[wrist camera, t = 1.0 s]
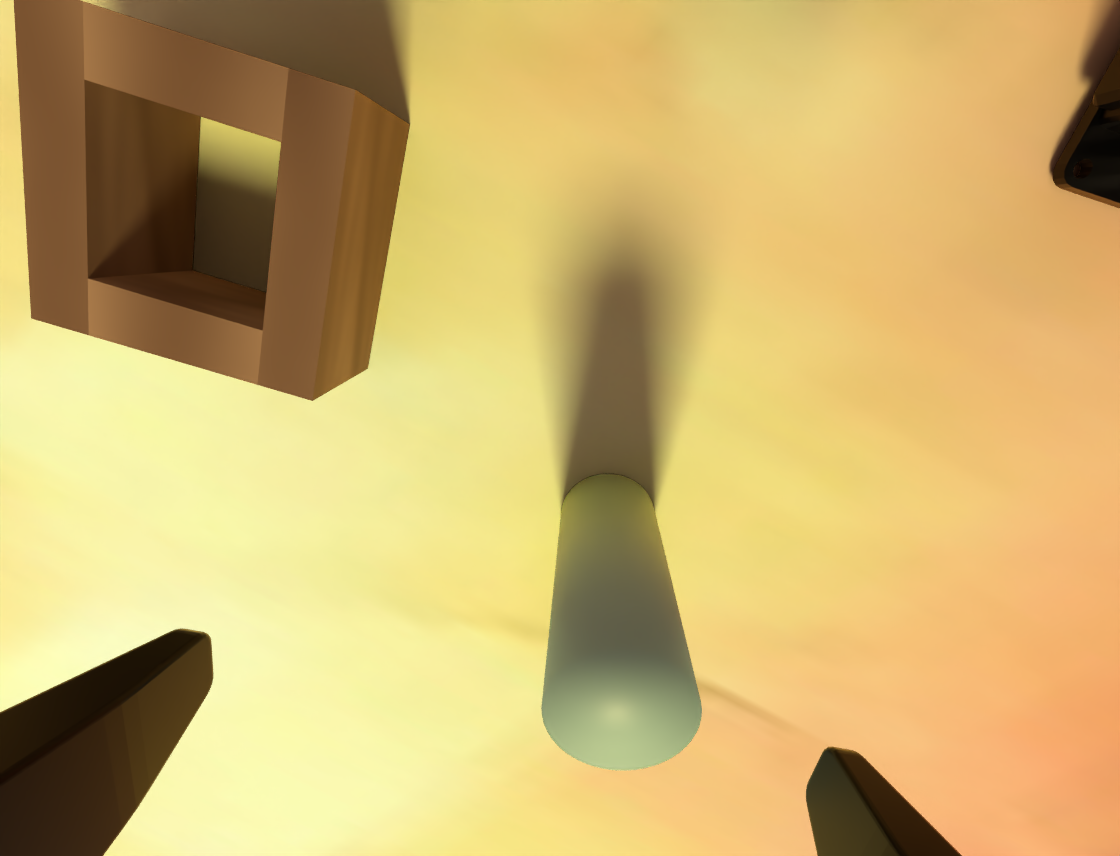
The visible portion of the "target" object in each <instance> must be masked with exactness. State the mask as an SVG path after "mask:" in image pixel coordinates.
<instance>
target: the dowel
mask: <svg viewBox="0 0 1120 856" xmlns="http://www.w3.org/2000/svg"><path fill="white" fill-rule="evenodd" d="M701 714H702V707H701V700H700V696H699V692H698V688H697V684H696V680H695V676H694V671H693V667H692V663H691V659H690V655H689V651H688V647H687V643H686V638H685V634H684V630H683V626H682V622H681V618H680V614H679V610H678V605H677V601H676V597H675V593H674V589H673V585H672V581H671V577H670V572H669V568H668V564H667V560H666V556H665V552H664V548H663V544H662V539H661V535H660V531H659V527H658V523H657V519H656V515H655V511H654V507H653V503H652V501H651V498H650V496H649V495H648V493H647V492H646V491H645V490H644V488H643V487H642V486H640V485H639V484H638V483H637V482H635V481H633V480H632V479H630V478H627V477H624V476H621V475H617V474H599V475H595V476H591V477H589V478H586V479H584V480H582V481H581V482H579V483H578V484H576V485H575V486H574V487H573V488H572V489H571V490H570V492H569V493H568V494H567V496H566V498H565V500H564V502H563V505H562V510H561V520H560V529H559V539H558V549H557V559H556V569H555V579H554V589H553V599H552V609H551V619H550V629H549V639H548V649H547V659H546V669H545V678H544V688H543V698H542V717H543V722H544V725H545V727H546V730H547V732H548V733H549V735H550V737H551V738H552V739H553V741H554V742H555V743H556V744H557V745H558V746H559V747H560V748H561V749H562V750H563V751H565V752H566V753H567V754H569V755H570V756H572V757H573V758H575V759H577V760H579V761H581V762H583V763H586V764H588V765H592V766H595V767H599V768H603V769H609V770H637V769H643V768H647V767H651V766H655V765H657V764H660V763H662V762H665V761H667V760H669V759H670V758H672V757H674V756H675V755H677V754H678V753H680V752H681V751H682V750H683V749H684V748H685V747H686V746H687V745H688V744H689V743H690V742H691V740H692V739H693V737H694V736H695V734H696V732H697V730H698V728H699V725H700V721H701Z"/></svg>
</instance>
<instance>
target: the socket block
mask: <svg viewBox="0 0 1120 856" xmlns="http://www.w3.org/2000/svg"><path fill="white" fill-rule="evenodd" d="M14 13H15V31H16V49H17V67H18V85H19V104H20V122H21V140H22V158H23V176H24V194H25V213H26V231H27V249H28V267H29V285H30V304H31V318H32V319H35V320H39V321H42V322H46V323H49V324H52V325H56V326H59V327H63V328H66V329H69V330H73V331H76V332H80V333H83V334H87V335H90V336H93V337H97V338H100V339H104V340H107V341H110V342H114V343H117V344H121V345H124V346H127V347H131V348H134V349H138V350H141V351H144V352H148V353H151V354H155V355H158V356H162V357H165V358H168V359H172V360H175V361H179V362H182V363H185V364H189V365H192V366H196V367H199V368H202V369H206V370H209V371H213V372H216V373H220V374H223V375H226V376H230V377H233V378H237V379H240V380H243V381H247V382H250V383H254V384H257V385H260V386H264V387H267V388H271V389H274V390H277V391H281V392H284V393H288V394H291V395H295V396H298V397H301V398H305V399H308V400H312V401H313V400H315V399H316V398H318V397H320V396H322V395H323V394H325V393H327V392H328V391H330V390H332V389H334V388H335V387H337V386H339V385H340V384H342V383H344V382H346V381H347V380H349V379H351V378H352V377H354V376H356V375H358V374H359V373H361V372H363V371H364V370H366V369H368V364H369V358H370V352H371V346H372V341H373V335H374V329H375V323H376V317H377V312H378V306H379V300H380V294H381V288H382V283H383V277H384V271H385V265H386V260H387V254H388V248H389V242H390V236H391V231H392V225H393V219H394V213H395V207H396V202H397V196H398V190H399V184H400V178H401V173H402V167H403V161H404V155H405V150H406V144H407V138H408V132H409V126H410V124H408V123H407V122H405V121H403V120H402V119H400V118H399V117H397V116H396V115H394V114H393V113H391V112H389V111H388V110H386V109H385V108H383V107H382V106H380V105H379V104H377V103H375V102H374V101H372V100H371V99H369V98H368V97H366V96H365V95H363V94H361V93H360V92H358V91H357V90H355V89H352V88H349V87H346V86H343V85H339V84H336V83H333V82H330V81H327V80H324V79H321V78H318V77H315V76H312V75H309V74H306V73H302V72H299V71H296V70H293V69H290V68H287V67H284V66H281V65H278V64H275V63H272V62H269V61H265V60H262V59H259V58H256V57H253V56H250V55H247V54H244V53H241V52H238V51H235V50H232V49H228V48H225V47H222V46H219V45H216V44H213V43H210V42H207V41H204V40H201V39H198V38H195V37H191V36H188V35H185V34H182V33H179V32H176V31H173V30H170V29H167V28H164V27H161V26H158V25H154V24H151V23H148V22H145V21H142V20H139V19H136V18H133V17H130V16H127V15H124V14H121V13H117V12H114V11H111V10H108V9H105V8H102V7H99V6H96V5H93V4H90V3H87V2H83V1H80V0H14ZM200 116H201V117H204V118H207V119H210V120H214V121H217V122H220V123H223V124H226V125H229V126H233V127H236V128H239V129H242V130H245V131H248V132H251V133H255V134H258V135H261V136H264V137H267V138H270V139H274V140H277V141H280V142H281V151H280V161H279V171H278V181H277V191H276V201H275V212H274V222H273V232H272V242H271V252H270V262H269V272H268V283H267V293H266V292H262V291H259V290H256V289H253V288H249V287H246V286H243V285H239V284H236V283H233V282H229V281H226V280H223V279H219V278H216V277H213V276H210V275H206V274H203V273H200V272H196V271H193V250H194V230H195V210H196V190H197V170H198V150H199V130H200Z"/></svg>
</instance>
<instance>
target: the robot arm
mask: <svg viewBox="0 0 1120 856" xmlns="http://www.w3.org/2000/svg"><path fill="white" fill-rule="evenodd" d="M1077 163H1079V164H1080V167H1081V169H1080V172H1079V174H1078V175H1077V176H1076V177H1075V176H1074V173H1073V170H1074V167H1075V165H1076V164H1077ZM1053 181H1054V183H1055V185H1056V186H1058V187H1059V188H1061V189H1064V190H1067V191H1070V192H1073V193H1076V194H1079V195H1082V196H1085V197H1088V198H1091V199H1094V200H1097V201H1100V202H1102V203H1105V204H1108V205H1111V206H1114V207H1117V208H1120V48H1119V50H1118V52H1117V53H1116V55H1115V57H1114V59H1113V60H1112V62H1111V64H1110V66H1109V68H1108V69H1107V71H1106V73H1105V75H1104V76H1103V78H1102V80H1101V82H1100V83H1099V85H1098V87H1097V89H1096V91H1095V92H1094V96H1093V100H1092V101H1091V103H1090V105H1089V107H1088V109H1087V110H1086V112H1085V114H1084V116H1083V117H1082V119H1081V121H1080V123H1079V124H1078V126H1077V128H1076V130H1075V132H1074V133H1073V135H1072V137H1071V139H1070V140H1069V142H1068V144H1067V146H1066V148H1065V149H1064V151H1063V153H1062V155H1061V156H1060V158H1059V160H1058V162H1057V163H1056V165H1055V168H1054V171H1053ZM212 681H213V661H212V645H211V638H210V636H209V635H208V634H207V633H205V632H200V631H194V630H189V629H176V630H173V631H171V632H169V633H166V634H164V635H162V636H160V637H158V638H156V639H154V640H152V641H150V642H147V643H145V644H143V645H141V646H139V647H137V648H135V649H133V650H131V651H128V652H126V653H124V654H122V655H120V656H118V657H116V658H114V659H112V660H109V661H107V662H105V663H103V664H101V665H99V666H97V667H95V668H93V669H91V670H88V671H86V672H84V673H82V674H80V675H78V676H76V677H74V678H72V679H69V680H67V681H65V682H63V683H61V684H59V685H57V686H55V687H53V688H50V689H48V690H46V691H44V692H42V693H40V694H38V695H36V696H34V697H31V698H29V699H27V700H25V701H23V702H21V703H19V704H17V705H15V706H12V707H10V708H8V709H6V710H4V711H2V712H0V856H103V855H104V854H105V852H106V851H107V850H108V848H109V847H110V845H111V844H112V843H113V841H114V840H115V839H116V837H117V836H118V835H119V833H120V832H121V830H122V829H123V828H124V826H125V825H126V823H127V822H128V821H129V819H130V818H131V816H132V815H133V813H134V812H135V811H136V809H137V808H138V806H139V805H140V803H141V802H142V800H143V798H144V797H145V795H146V794H147V792H148V791H149V789H150V788H151V786H152V784H153V783H154V781H155V779H156V778H157V776H158V774H159V773H160V771H161V770H162V768H163V766H164V765H165V763H166V761H167V760H168V758H169V756H170V755H171V753H172V752H173V750H174V748H175V747H176V745H177V743H178V742H179V740H180V738H181V737H182V735H183V734H184V732H185V730H186V729H187V727H188V725H189V724H190V722H191V721H192V719H193V717H194V716H195V714H196V712H197V711H198V709H199V707H200V706H201V704H202V703H203V701H204V699H205V698H206V696H207V694H208V692H209V690H210V688H211V685H212ZM806 802H807V807H808V812H809V817H810V822H811V826H812V831H813V836H814V841H815V845H816V850H817V855H818V856H962V855H961V854H960V853H959V852H958V851H957V850H956V849H955V848H954V847H953V846H952V845H951V844H950V843H949V842H948V841H947V840H946V839H945V838H944V837H943V836H942V835H941V834H940V833H939V832H938V831H937V830H936V829H935V828H934V827H933V826H932V825H931V824H930V823H929V822H928V821H927V820H926V819H925V818H924V817H923V816H922V815H921V814H920V813H919V812H918V811H917V810H916V809H915V808H914V807H913V806H912V805H911V804H910V803H909V802H908V801H907V800H906V799H905V798H904V797H903V796H902V795H901V794H900V793H899V792H898V791H897V790H896V789H895V788H894V787H893V786H892V785H891V784H890V783H889V782H888V781H887V780H886V779H885V778H884V777H883V776H882V775H881V774H880V773H879V772H878V771H877V770H876V769H875V768H874V767H873V766H872V765H871V764H870V763H869V762H868V761H867V760H866V759H865V758H864V757H863V756H861V755H860V754H859V753H857V752H855V751H853V750H848V749H842V748H837V747H828V748H826V749H825V750H824V751H823V753H822V755H821V757H820V759H819V761H818V763H817V765H816V767H815V769H814V771H813V773H812V775H811V777H810V779H809V781H808V784H807V789H806Z"/></svg>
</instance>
